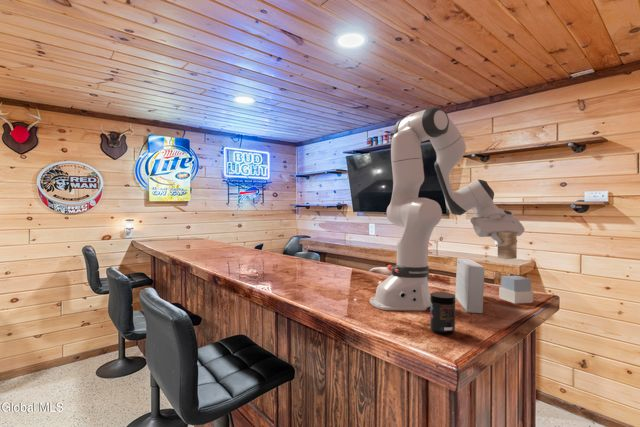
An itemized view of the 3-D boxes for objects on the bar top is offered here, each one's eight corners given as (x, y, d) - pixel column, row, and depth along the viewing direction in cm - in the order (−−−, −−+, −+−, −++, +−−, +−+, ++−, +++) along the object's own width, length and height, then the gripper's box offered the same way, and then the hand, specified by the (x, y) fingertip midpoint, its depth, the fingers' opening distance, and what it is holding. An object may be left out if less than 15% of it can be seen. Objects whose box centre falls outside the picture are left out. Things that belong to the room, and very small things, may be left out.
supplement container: (445, 326, 100) (445, 291, 100) (460, 334, 93) (460, 297, 93) (425, 328, 98) (425, 292, 98) (439, 336, 91) (439, 298, 91)
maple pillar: (506, 258, 128) (506, 232, 128) (497, 257, 133) (497, 232, 133) (516, 258, 129) (516, 232, 129) (507, 256, 134) (507, 231, 134)
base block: (514, 304, 124) (514, 292, 124) (499, 298, 132) (499, 287, 132) (532, 303, 126) (533, 291, 126) (516, 297, 134) (516, 286, 134)
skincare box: (484, 314, 112) (485, 266, 111) (467, 313, 113) (467, 266, 112) (469, 298, 132) (470, 257, 132) (455, 297, 133) (455, 257, 133)
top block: (514, 291, 125) (514, 279, 125) (501, 287, 132) (501, 275, 132) (530, 291, 126) (531, 279, 126) (517, 286, 133) (517, 275, 133)
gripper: (472, 212, 136) (488, 238, 126) (515, 211, 139) (535, 237, 130) (465, 222, 140) (480, 248, 131) (507, 222, 144) (526, 247, 134)
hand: (508, 243), depth 130 cm, fingers closed on maple pillar, 5 cm apart
